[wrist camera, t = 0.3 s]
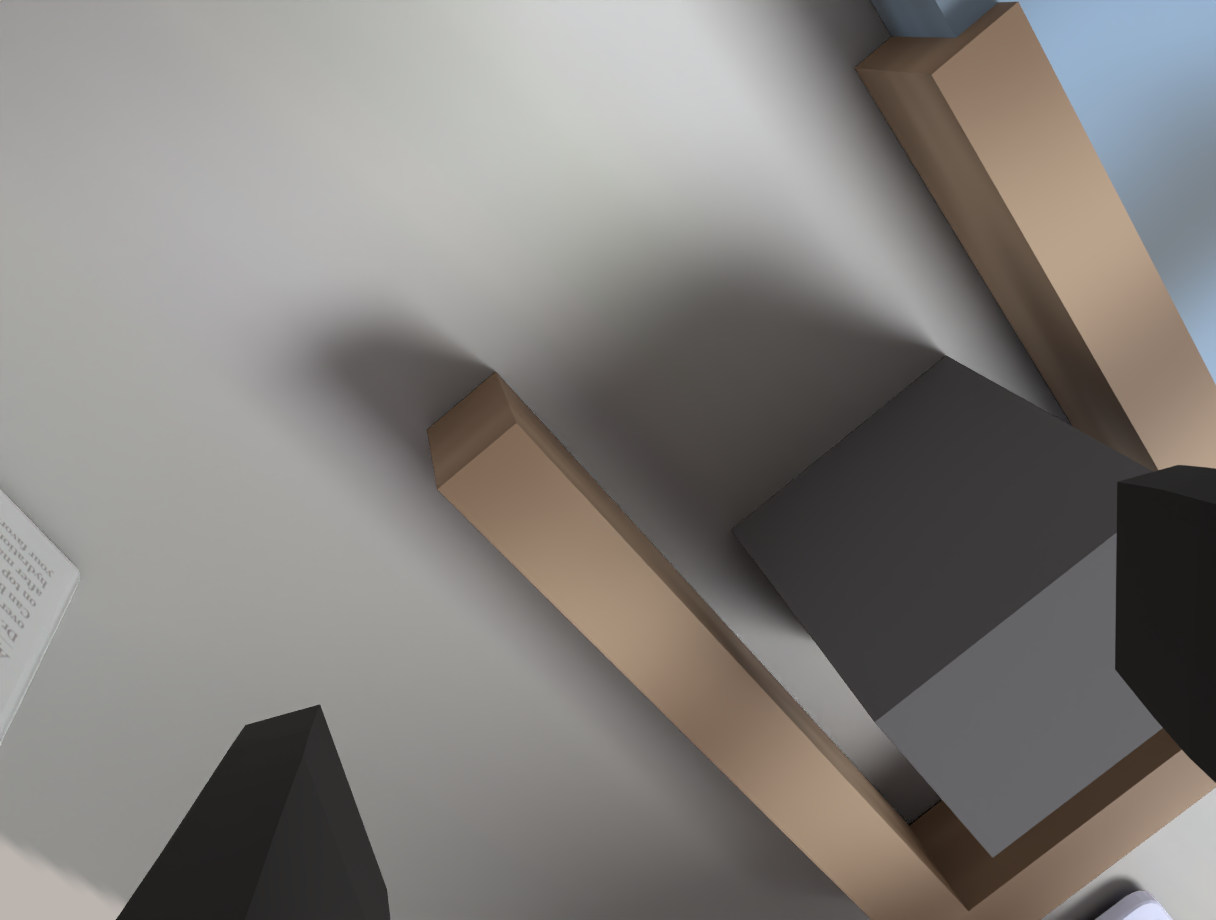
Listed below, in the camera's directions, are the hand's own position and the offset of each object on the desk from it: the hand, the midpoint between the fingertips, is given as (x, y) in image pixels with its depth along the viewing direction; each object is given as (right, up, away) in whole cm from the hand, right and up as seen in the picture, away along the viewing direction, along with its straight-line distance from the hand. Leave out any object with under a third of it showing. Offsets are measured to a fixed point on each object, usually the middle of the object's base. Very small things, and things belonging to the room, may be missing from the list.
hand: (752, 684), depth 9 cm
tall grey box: (+4, +1, +11) cm, 12 cm away
